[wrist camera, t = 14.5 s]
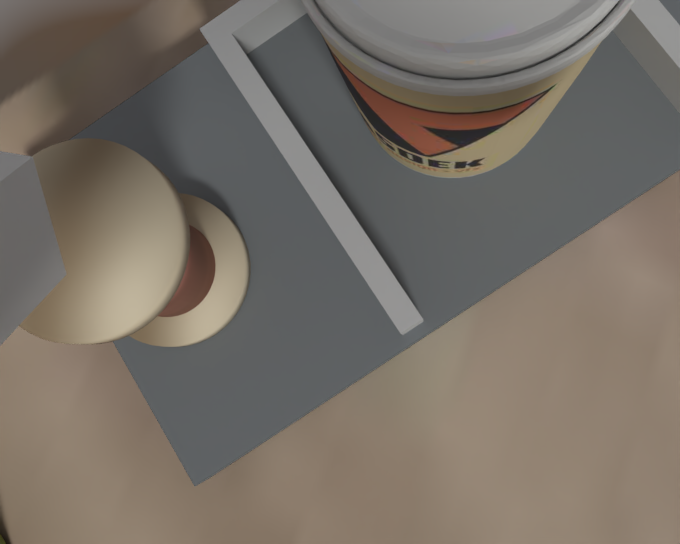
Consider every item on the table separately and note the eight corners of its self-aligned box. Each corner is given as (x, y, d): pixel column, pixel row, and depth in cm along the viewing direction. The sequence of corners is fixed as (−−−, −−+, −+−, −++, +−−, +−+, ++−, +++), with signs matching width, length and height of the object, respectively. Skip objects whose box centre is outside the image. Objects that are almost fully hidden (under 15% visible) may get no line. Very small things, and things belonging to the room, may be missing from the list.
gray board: (536, -161, 30) (550, -229, 26) (766, 112, 27) (816, 77, 23) (38, 183, 31) (-11, 161, 27) (207, 479, 28) (175, 497, 25)
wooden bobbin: (255, 200, 28) (186, 138, 20) (245, 350, 27) (168, 349, 19) (114, 197, 29) (-5, 137, 21) (100, 343, 28) (-29, 338, 20)
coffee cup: (302, 136, 28) (206, -25, 16) (410, -49, 28) (394, -340, 16) (499, 239, 26) (555, 145, 14) (611, 41, 26) (755, -211, 15)
